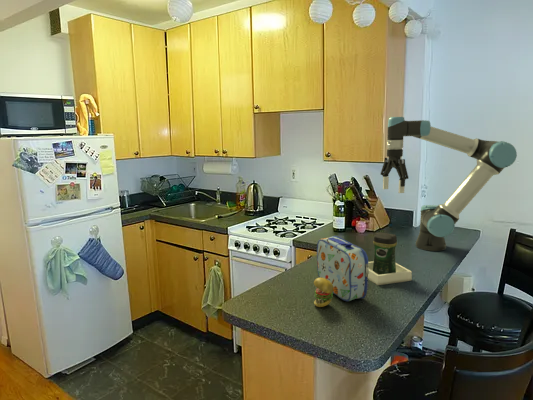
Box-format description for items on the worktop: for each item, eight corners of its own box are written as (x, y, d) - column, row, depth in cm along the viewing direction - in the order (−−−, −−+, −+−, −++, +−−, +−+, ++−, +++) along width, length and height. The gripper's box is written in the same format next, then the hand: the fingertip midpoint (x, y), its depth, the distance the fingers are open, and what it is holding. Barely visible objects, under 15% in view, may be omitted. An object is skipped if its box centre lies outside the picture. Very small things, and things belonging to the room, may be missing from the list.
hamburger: (313, 300, 144) (313, 270, 142) (332, 301, 143) (332, 271, 141) (313, 310, 137) (313, 278, 134) (333, 310, 136) (334, 279, 134)
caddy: (389, 267, 177) (389, 259, 176) (411, 280, 162) (411, 271, 161) (357, 271, 173) (357, 263, 172) (377, 285, 157) (377, 276, 157)
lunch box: (374, 303, 141) (376, 246, 137) (350, 308, 137) (351, 250, 133) (334, 277, 166) (335, 229, 162) (313, 281, 162) (313, 232, 158)
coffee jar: (398, 274, 167) (400, 233, 163) (391, 279, 161) (392, 237, 158) (377, 269, 173) (378, 229, 170) (369, 274, 167) (370, 233, 164)
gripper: (374, 147, 199) (373, 188, 203) (403, 149, 175) (401, 195, 179) (387, 147, 201) (385, 187, 205) (417, 149, 177) (415, 194, 181)
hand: (393, 191), depth 192 cm, fingers open, 13 cm apart
